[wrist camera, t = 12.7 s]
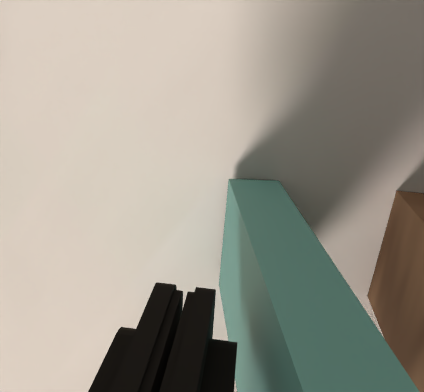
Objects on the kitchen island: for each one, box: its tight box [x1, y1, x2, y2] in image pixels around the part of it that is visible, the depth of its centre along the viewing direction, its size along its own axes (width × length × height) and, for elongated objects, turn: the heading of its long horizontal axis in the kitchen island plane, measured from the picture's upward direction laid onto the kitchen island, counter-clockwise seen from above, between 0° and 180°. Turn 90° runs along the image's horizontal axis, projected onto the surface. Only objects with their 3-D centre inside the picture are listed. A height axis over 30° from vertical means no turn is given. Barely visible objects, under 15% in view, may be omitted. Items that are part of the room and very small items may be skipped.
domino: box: [219, 179, 419, 392], centre depth 12 cm, size 5×2×10 cm, turn 176°
